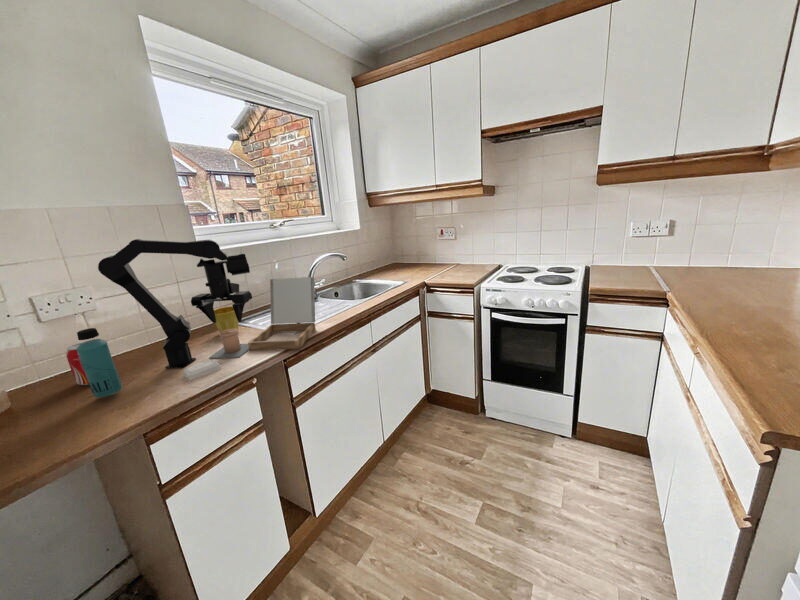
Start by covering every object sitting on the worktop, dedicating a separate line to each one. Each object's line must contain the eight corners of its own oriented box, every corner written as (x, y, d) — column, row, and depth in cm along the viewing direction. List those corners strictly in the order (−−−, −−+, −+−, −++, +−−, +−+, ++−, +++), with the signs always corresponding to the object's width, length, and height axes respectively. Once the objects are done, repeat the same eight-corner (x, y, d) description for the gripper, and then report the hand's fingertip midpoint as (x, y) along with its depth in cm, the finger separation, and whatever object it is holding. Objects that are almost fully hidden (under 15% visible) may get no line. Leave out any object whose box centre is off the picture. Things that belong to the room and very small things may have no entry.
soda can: (84, 378, 106) (71, 343, 103) (111, 373, 109) (99, 339, 105) (72, 389, 100) (58, 352, 97) (101, 383, 102) (88, 347, 99)
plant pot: (232, 337, 132) (226, 313, 130) (209, 337, 135) (203, 314, 132) (248, 327, 142) (243, 305, 139) (227, 327, 144) (221, 306, 142)
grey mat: (239, 357, 113) (239, 356, 113) (209, 358, 114) (208, 357, 114) (255, 344, 124) (255, 343, 123) (227, 345, 125) (227, 344, 125)
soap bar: (184, 377, 103) (182, 369, 103) (215, 365, 110) (213, 358, 109) (190, 381, 100) (187, 373, 99) (221, 369, 106) (219, 361, 106)
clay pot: (236, 353, 116) (231, 334, 114) (220, 353, 116) (215, 335, 114) (245, 346, 121) (241, 328, 119) (229, 347, 122) (225, 328, 120)
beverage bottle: (121, 387, 99) (99, 323, 93) (127, 394, 95) (104, 327, 89) (92, 398, 94) (67, 331, 88) (97, 405, 90) (71, 336, 84)
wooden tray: (298, 348, 116) (297, 340, 116) (249, 350, 118) (247, 342, 117) (315, 329, 134) (314, 322, 133) (272, 331, 135) (271, 324, 135)
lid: (313, 276, 134) (314, 277, 135) (270, 279, 136) (271, 279, 136) (314, 322, 133) (315, 322, 133) (271, 324, 135) (271, 324, 135)
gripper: (255, 271, 118) (264, 313, 123) (205, 274, 120) (216, 315, 125) (238, 278, 108) (248, 324, 112) (184, 281, 110) (196, 326, 114)
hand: (227, 322), depth 116 cm, fingers open, 9 cm apart
